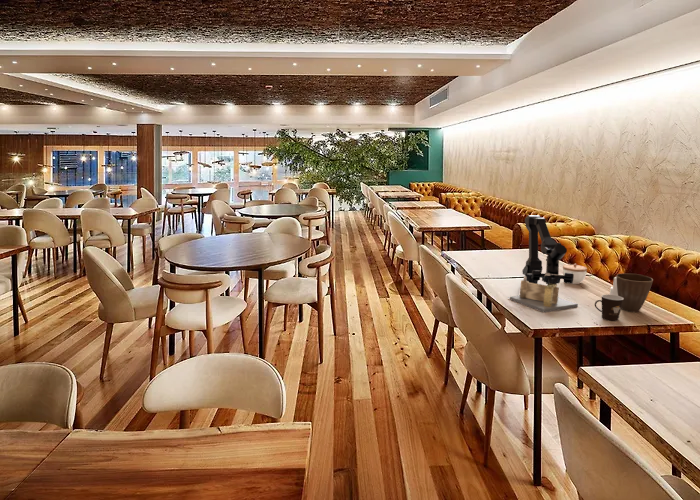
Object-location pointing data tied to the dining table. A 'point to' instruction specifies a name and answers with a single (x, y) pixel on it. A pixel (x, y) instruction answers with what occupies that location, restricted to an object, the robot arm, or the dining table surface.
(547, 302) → the brass keeper
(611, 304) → the coffee mug
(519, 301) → the slate board
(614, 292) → the cream cylindrical piece
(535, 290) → the ash link
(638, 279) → the plant pot
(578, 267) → the lidded bowl
